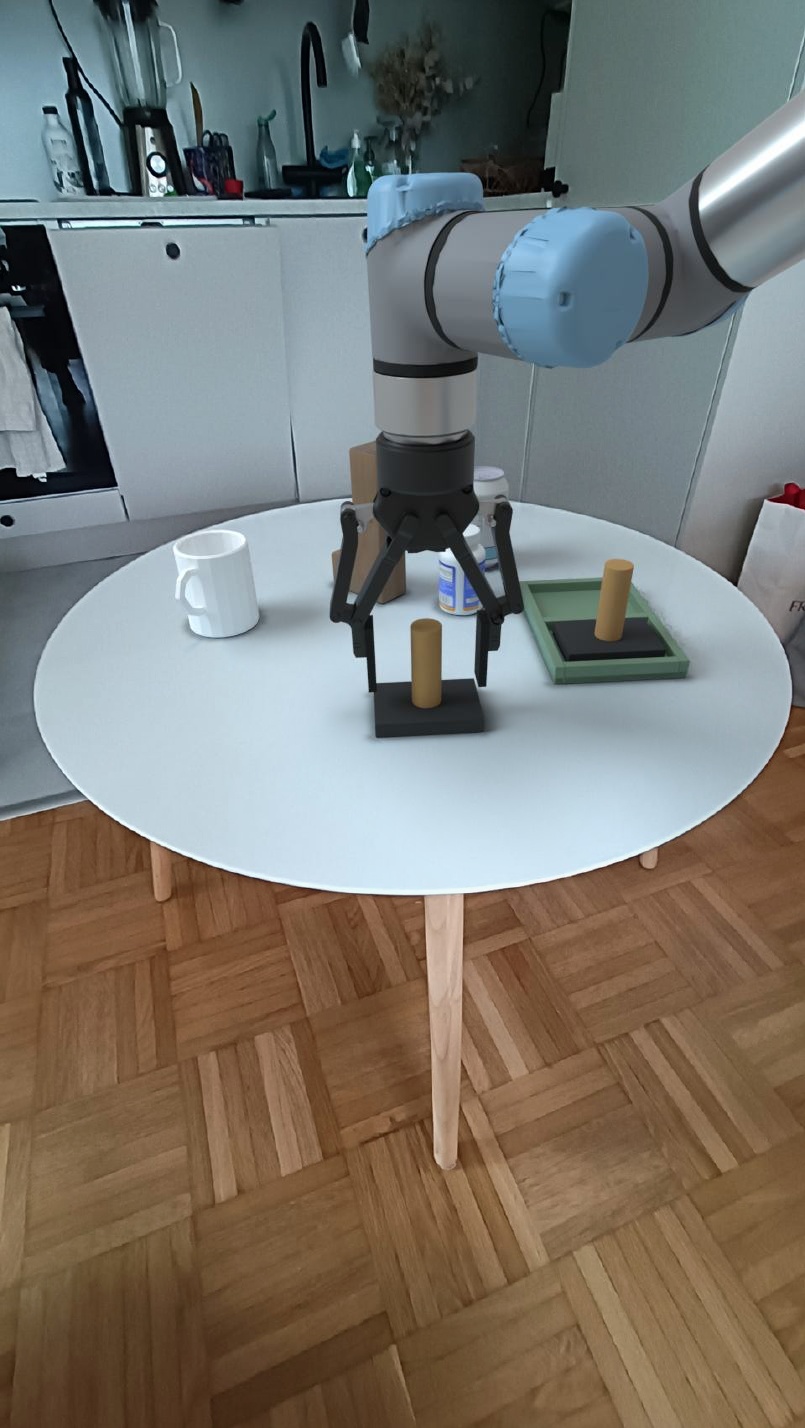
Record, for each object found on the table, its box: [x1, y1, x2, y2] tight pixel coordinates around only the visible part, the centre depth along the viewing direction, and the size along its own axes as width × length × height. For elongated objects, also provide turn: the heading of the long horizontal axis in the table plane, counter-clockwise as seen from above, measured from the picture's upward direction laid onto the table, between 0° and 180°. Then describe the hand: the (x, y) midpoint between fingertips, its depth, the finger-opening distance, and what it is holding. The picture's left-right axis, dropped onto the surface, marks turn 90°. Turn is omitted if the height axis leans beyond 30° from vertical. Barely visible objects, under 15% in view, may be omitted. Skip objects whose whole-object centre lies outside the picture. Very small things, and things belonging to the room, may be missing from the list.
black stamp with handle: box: [552, 558, 666, 662], centre depth 74 cm, size 7×10×10 cm
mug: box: [172, 529, 260, 639], centre depth 81 cm, size 8×12×10 cm
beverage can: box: [470, 465, 510, 569], centre depth 94 cm, size 7×7×12 cm
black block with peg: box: [373, 617, 485, 738], centre depth 66 cm, size 7×10×10 cm
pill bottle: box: [438, 524, 486, 616], centre depth 84 cm, size 5×5×10 cm
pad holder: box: [519, 576, 691, 685], centre depth 80 cm, size 20×14×2 cm
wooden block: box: [331, 440, 407, 604], centre depth 86 cm, size 9×4×18 cm, turn 47°
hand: (426, 681), depth 67 cm, fingers open, 9 cm apart
